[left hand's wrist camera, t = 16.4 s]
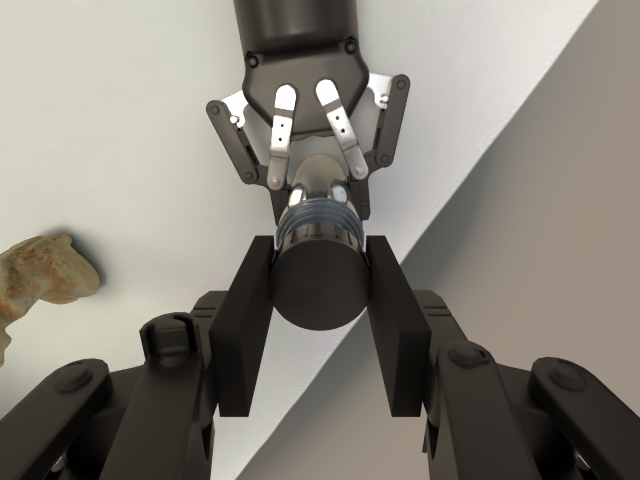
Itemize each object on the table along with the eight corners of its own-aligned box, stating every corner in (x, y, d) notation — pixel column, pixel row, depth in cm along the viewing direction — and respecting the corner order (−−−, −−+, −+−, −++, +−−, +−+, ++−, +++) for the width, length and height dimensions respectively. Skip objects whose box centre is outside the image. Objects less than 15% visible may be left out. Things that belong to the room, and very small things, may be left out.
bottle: (327, 210, 33) (337, 345, 15) (287, 186, 32) (242, 296, 14) (353, 170, 32) (400, 263, 13) (311, 144, 31) (299, 204, 12)
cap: (350, 207, 14) (355, 222, 12) (379, 291, 15) (386, 315, 13) (257, 239, 14) (249, 257, 13) (293, 317, 16) (290, 343, 14)
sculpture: (67, 299, 36) (-91, 420, 22) (24, 238, 34) (-182, 331, 20) (115, 282, 36) (-16, 397, 22) (75, 219, 33) (-101, 302, 19)
